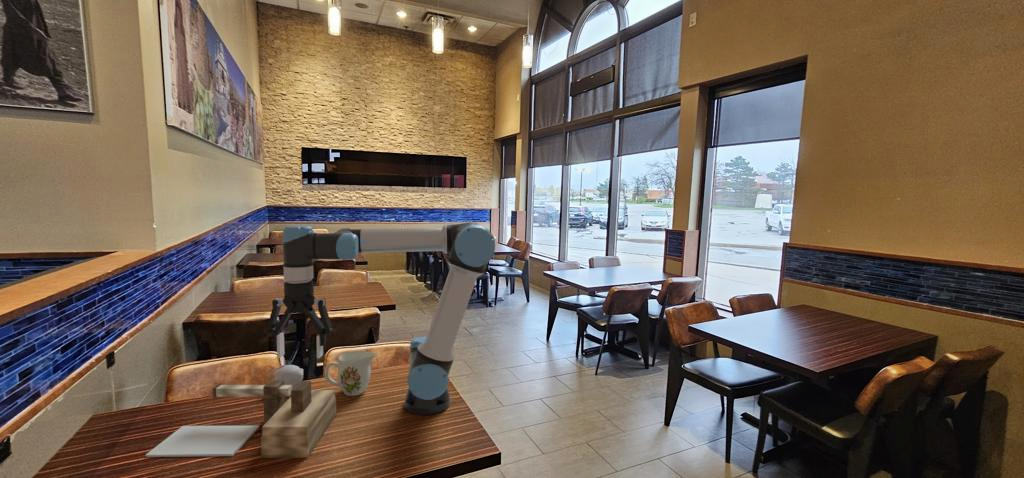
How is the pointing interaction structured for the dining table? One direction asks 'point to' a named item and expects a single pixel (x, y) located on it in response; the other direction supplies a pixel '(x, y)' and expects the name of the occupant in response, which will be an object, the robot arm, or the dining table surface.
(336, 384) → the pitcher
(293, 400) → the lid
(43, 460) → the dining table surface
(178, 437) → the light grey flat board
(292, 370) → the toy
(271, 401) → the light wood open box
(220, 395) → the beige wooden bar
